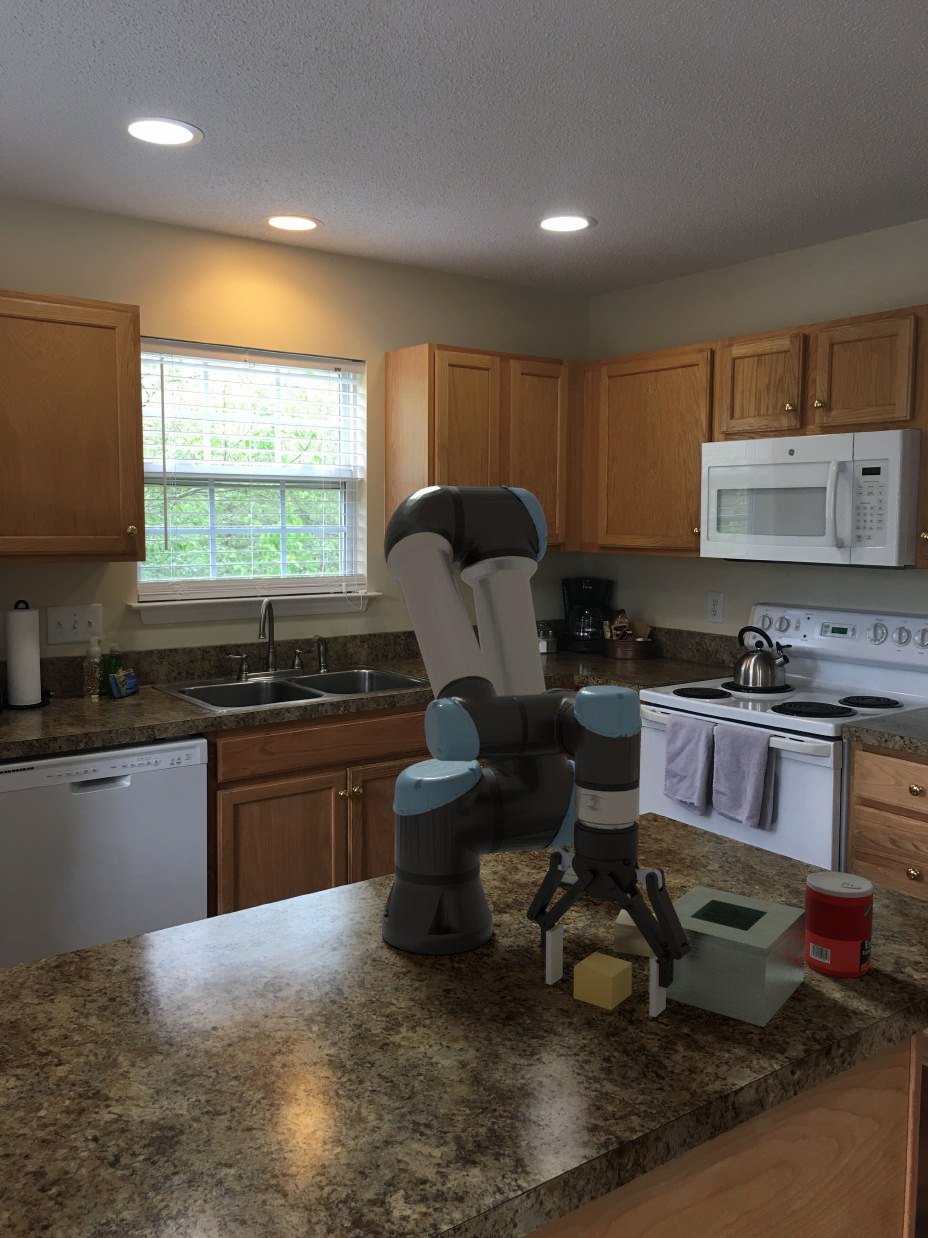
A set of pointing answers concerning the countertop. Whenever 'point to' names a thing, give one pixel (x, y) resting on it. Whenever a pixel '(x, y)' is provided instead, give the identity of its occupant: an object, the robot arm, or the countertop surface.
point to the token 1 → (602, 980)
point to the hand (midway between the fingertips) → (604, 996)
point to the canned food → (838, 924)
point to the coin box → (737, 954)
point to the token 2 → (629, 936)
